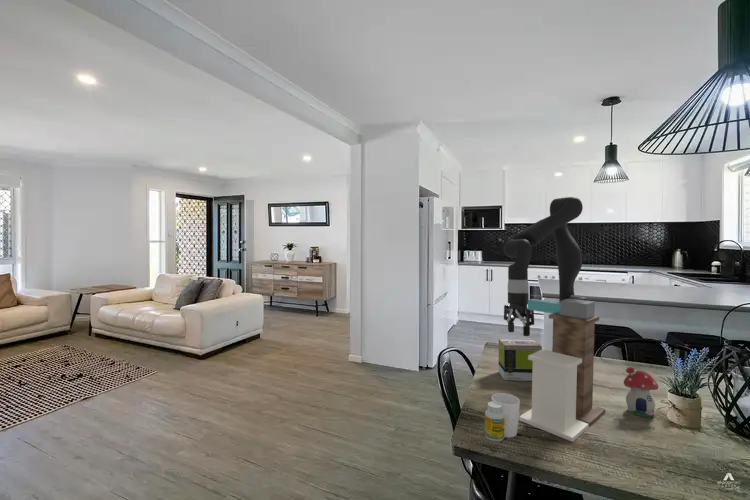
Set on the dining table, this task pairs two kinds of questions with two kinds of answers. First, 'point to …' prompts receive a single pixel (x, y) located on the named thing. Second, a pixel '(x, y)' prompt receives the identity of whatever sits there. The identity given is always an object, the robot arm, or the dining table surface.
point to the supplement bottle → (494, 422)
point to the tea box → (516, 358)
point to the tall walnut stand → (579, 342)
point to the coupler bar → (565, 307)
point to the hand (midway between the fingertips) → (518, 334)
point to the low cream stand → (554, 395)
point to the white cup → (508, 412)
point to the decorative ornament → (640, 393)
